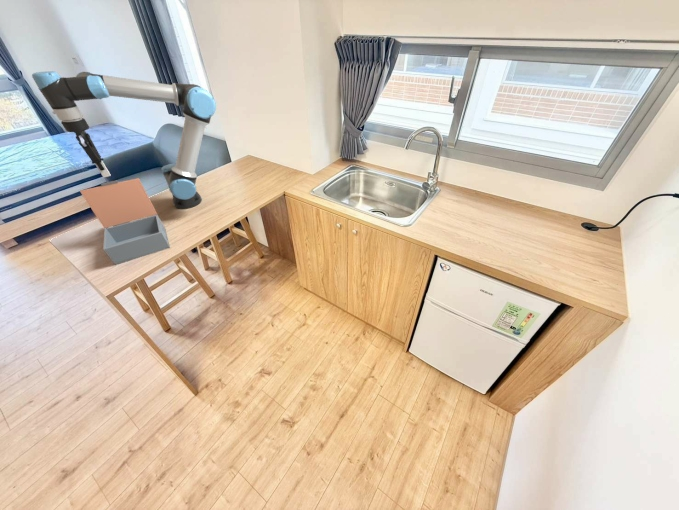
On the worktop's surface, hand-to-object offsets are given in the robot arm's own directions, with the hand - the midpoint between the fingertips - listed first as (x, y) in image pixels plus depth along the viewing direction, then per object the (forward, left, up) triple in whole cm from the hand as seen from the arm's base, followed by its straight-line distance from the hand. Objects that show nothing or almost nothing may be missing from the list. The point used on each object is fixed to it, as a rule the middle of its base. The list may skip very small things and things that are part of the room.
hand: (107, 176), depth 119 cm
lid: (+7, 0, -10) cm, 13 cm away
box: (+18, 0, -29) cm, 34 cm away
